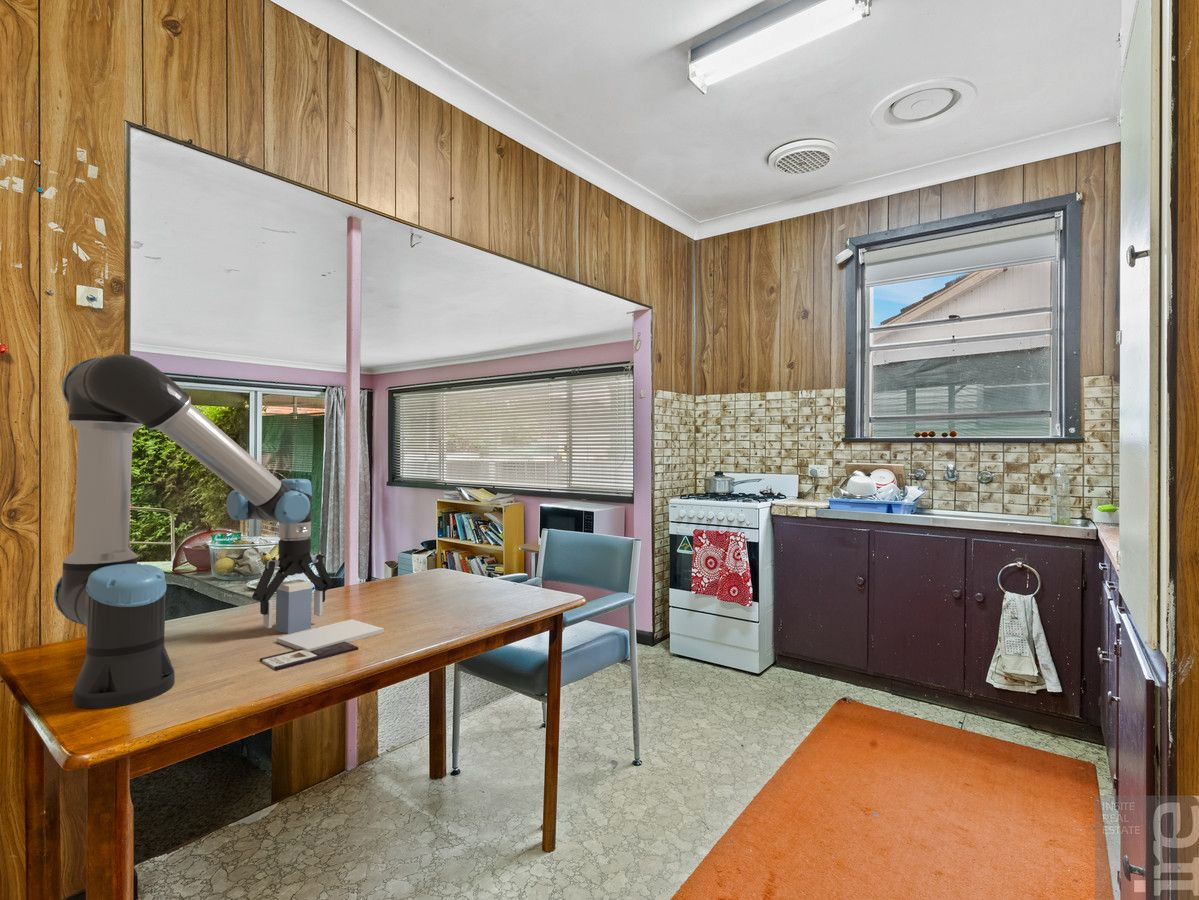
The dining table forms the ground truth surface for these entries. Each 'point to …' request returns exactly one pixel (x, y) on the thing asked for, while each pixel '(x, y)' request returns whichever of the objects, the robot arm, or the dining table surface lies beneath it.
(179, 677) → the dining table surface
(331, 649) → the chocolate bar
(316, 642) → the board
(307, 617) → the block
